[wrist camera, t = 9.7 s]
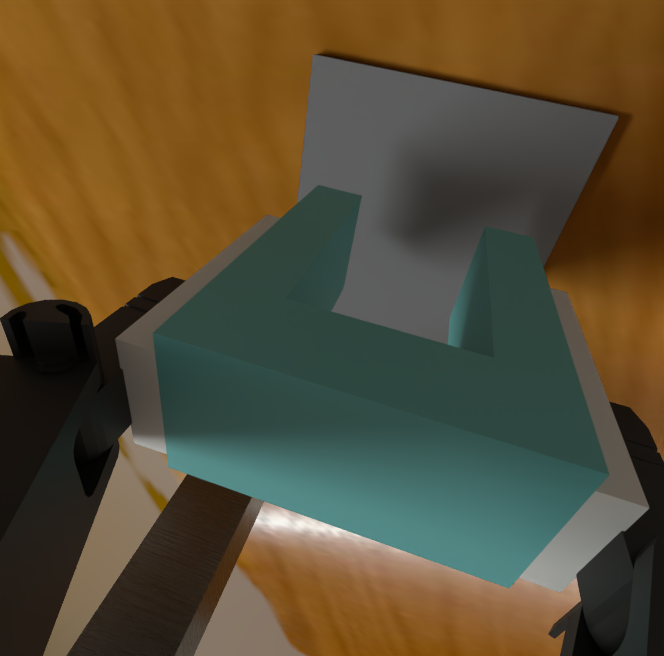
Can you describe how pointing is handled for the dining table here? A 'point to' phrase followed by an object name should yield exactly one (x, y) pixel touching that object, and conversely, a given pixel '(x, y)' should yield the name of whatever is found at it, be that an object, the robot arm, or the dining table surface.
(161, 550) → the stand
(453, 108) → the mat
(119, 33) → the dining table surface
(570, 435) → the u-shaped block
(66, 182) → the dining table surface
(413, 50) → the dining table surface
